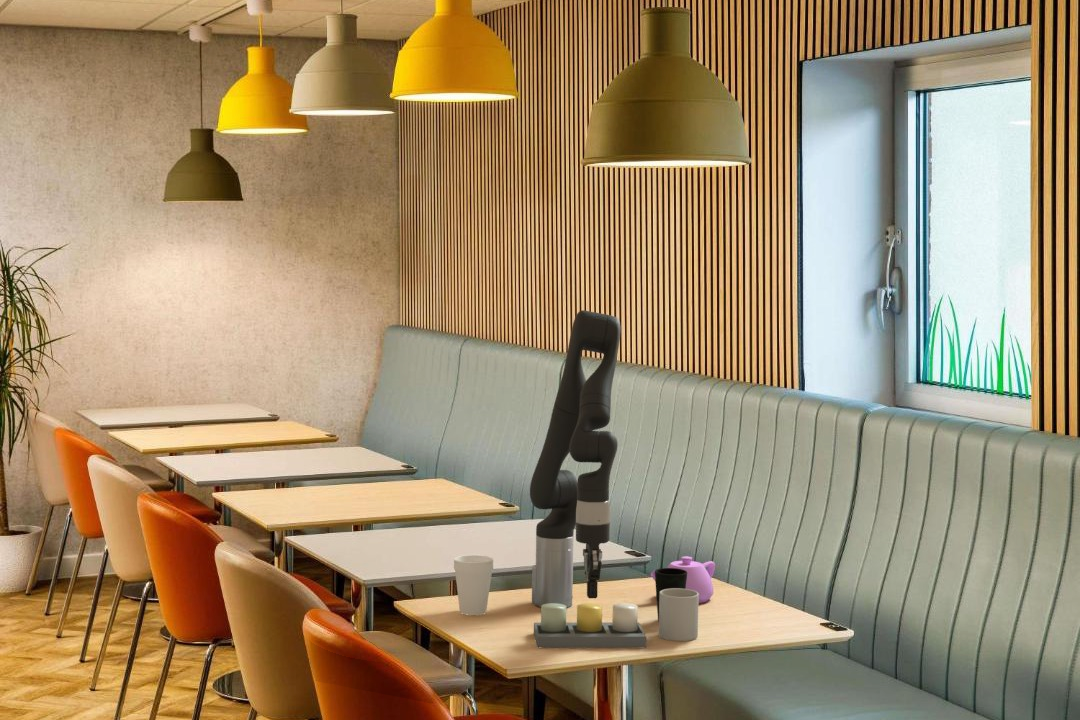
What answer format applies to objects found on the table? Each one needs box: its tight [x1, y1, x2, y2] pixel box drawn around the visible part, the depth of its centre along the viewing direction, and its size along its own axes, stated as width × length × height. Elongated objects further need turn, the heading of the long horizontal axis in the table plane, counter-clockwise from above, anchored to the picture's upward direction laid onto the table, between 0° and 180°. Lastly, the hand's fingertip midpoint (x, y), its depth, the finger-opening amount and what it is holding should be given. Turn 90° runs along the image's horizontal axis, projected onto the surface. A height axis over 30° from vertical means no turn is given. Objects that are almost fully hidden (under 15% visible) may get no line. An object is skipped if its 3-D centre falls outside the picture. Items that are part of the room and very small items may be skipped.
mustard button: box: [576, 602, 603, 632], centre depth 305 cm, size 6×6×5 cm
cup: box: [654, 567, 687, 623], centre depth 323 cm, size 8×8×12 cm
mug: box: [658, 588, 700, 642], centre depth 311 cm, size 11×10×10 cm
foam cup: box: [453, 554, 494, 616], centre depth 329 cm, size 10×9×13 cm
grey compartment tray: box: [533, 621, 647, 649], centre depth 305 cm, size 24×12×2 cm, turn 94°
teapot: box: [650, 555, 716, 604], centre depth 346 cm, size 14×20×11 cm
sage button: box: [540, 603, 567, 632], centre depth 305 cm, size 6×6×5 cm
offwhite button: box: [612, 602, 639, 632], centre depth 306 cm, size 6×6×5 cm
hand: (592, 597), depth 305 cm, fingers closed
